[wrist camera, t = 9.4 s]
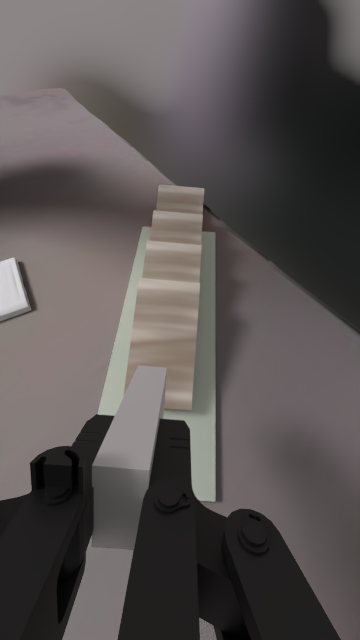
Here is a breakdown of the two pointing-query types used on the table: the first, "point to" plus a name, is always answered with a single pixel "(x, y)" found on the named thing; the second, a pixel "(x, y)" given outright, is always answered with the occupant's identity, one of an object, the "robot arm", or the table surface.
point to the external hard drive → (12, 290)
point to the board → (204, 369)
